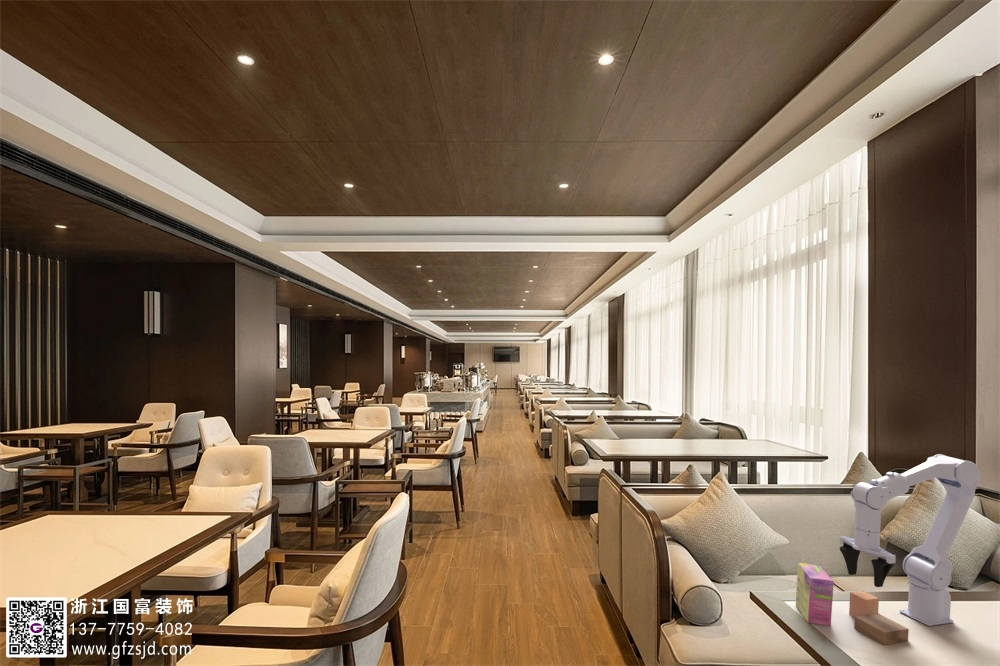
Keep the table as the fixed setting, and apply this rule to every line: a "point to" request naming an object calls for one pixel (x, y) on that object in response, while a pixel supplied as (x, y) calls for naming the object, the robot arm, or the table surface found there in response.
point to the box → (814, 594)
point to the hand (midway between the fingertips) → (865, 580)
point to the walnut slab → (881, 629)
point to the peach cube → (863, 604)
